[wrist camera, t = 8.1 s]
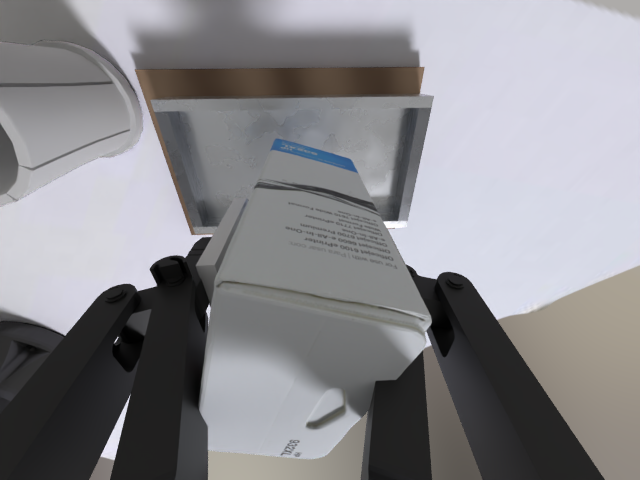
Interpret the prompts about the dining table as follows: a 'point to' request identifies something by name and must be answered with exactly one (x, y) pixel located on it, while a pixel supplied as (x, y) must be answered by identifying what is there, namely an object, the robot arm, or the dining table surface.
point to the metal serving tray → (295, 126)
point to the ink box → (305, 311)
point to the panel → (271, 87)
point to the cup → (59, 113)
